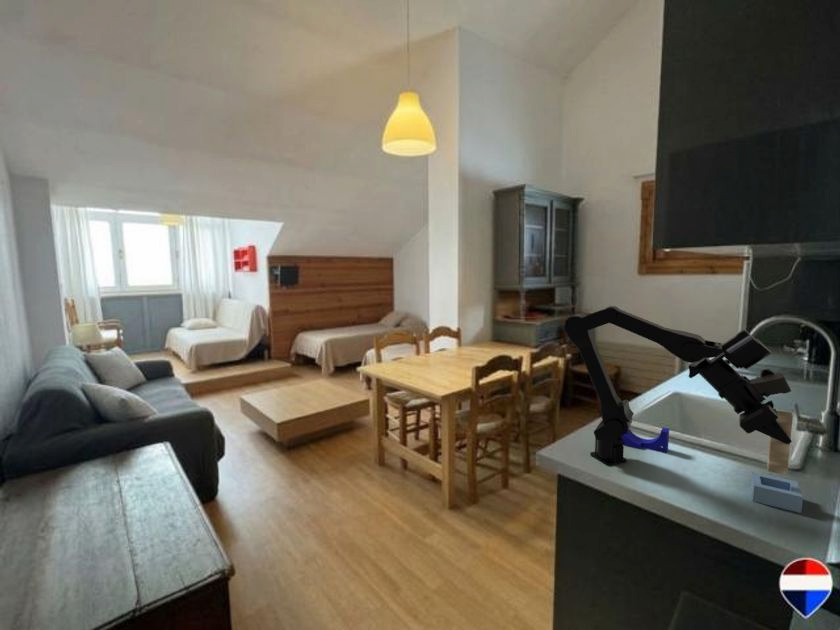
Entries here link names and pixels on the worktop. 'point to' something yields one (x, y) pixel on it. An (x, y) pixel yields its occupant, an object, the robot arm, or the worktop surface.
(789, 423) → the slat
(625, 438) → the cable clip
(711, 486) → the worktop surface
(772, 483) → the blue-grey socket block
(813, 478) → the worktop surface
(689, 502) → the worktop surface
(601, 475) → the worktop surface
